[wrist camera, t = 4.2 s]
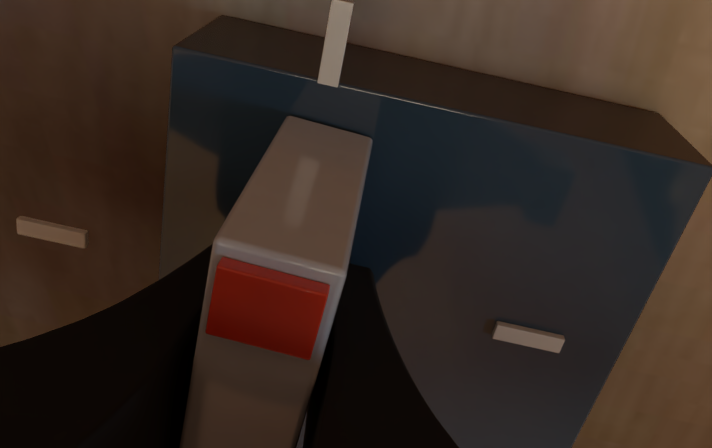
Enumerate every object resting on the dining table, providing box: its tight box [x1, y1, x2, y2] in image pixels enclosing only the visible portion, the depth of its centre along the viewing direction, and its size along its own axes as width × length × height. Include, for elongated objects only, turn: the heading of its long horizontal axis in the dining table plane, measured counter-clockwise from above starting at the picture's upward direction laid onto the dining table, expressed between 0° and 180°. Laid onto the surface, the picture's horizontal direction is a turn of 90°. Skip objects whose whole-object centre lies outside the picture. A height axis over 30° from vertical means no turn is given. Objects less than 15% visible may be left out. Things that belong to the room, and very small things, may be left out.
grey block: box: [179, 116, 373, 448], centre depth 11 cm, size 7×2×5 cm, turn 166°
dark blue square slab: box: [16, 0, 712, 448], centre depth 14 cm, size 12×11×3 cm
